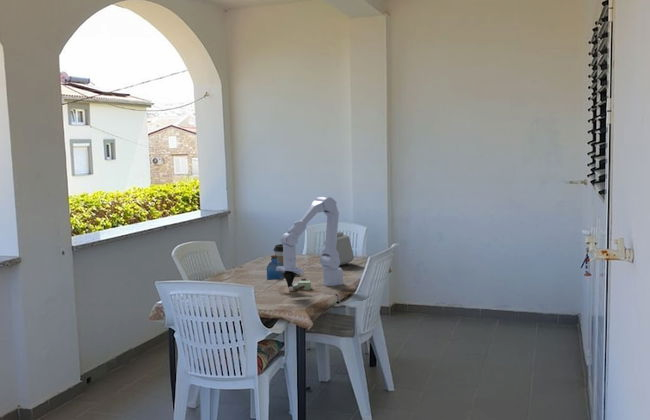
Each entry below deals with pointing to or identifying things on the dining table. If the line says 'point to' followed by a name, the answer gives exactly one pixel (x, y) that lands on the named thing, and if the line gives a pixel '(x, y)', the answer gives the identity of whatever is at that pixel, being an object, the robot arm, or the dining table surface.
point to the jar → (344, 248)
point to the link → (295, 287)
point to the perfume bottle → (273, 269)
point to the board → (285, 290)
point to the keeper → (306, 283)
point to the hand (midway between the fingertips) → (290, 287)
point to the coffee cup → (279, 254)
